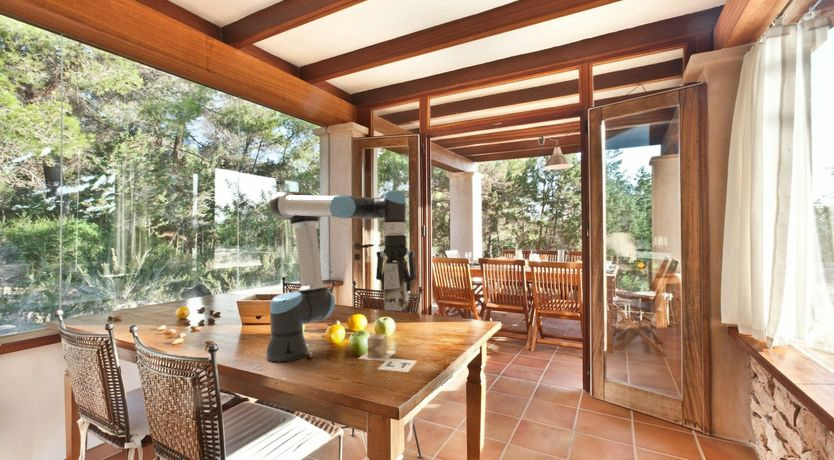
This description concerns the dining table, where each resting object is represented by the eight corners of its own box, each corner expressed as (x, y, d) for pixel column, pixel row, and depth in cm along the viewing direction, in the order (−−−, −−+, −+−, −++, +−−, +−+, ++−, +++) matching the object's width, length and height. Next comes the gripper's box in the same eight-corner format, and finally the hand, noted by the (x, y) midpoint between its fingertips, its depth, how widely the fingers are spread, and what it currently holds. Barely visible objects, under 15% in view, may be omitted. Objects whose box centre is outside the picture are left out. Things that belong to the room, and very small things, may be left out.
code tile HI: (357, 359, 137) (357, 358, 137) (369, 349, 147) (369, 349, 147) (385, 361, 134) (385, 360, 134) (396, 351, 144) (395, 351, 144)
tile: (377, 369, 126) (377, 368, 126) (388, 358, 137) (388, 358, 137) (407, 372, 123) (407, 371, 123) (417, 361, 134) (417, 360, 134)
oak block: (367, 357, 138) (367, 338, 138) (371, 352, 144) (371, 334, 144) (383, 357, 137) (383, 338, 137) (386, 352, 143) (386, 334, 143)
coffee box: (402, 310, 125) (401, 263, 125) (384, 310, 126) (383, 263, 126) (408, 305, 134) (407, 260, 134) (391, 305, 135) (390, 260, 135)
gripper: (365, 235, 129) (366, 301, 129) (419, 234, 124) (420, 303, 124) (373, 234, 136) (374, 297, 136) (425, 234, 131) (426, 299, 131)
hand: (396, 300), depth 130 cm, fingers closed on coffee box, 7 cm apart
